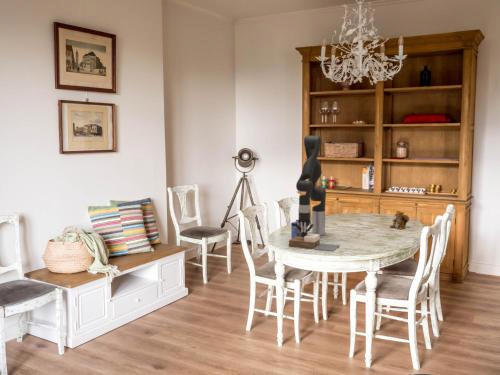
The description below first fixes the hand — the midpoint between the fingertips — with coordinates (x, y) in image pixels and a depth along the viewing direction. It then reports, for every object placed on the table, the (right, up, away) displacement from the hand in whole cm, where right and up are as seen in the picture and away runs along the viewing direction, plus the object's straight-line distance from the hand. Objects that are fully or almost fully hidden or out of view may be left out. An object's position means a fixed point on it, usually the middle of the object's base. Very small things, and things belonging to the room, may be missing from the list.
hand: (304, 237), depth 319 cm
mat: (+14, -6, -6) cm, 16 cm away
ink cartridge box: (-2, -4, +15) cm, 15 cm away
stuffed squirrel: (+78, +2, +54) cm, 95 cm away
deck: (0, -5, +1) cm, 5 cm away
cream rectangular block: (+5, 0, -2) cm, 5 cm away
